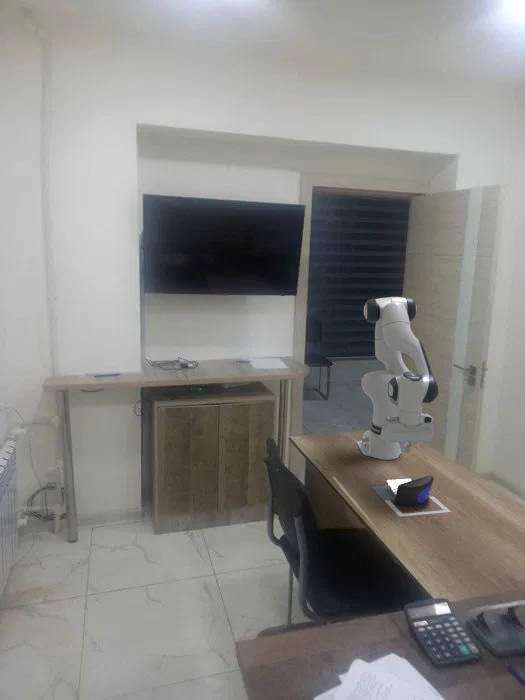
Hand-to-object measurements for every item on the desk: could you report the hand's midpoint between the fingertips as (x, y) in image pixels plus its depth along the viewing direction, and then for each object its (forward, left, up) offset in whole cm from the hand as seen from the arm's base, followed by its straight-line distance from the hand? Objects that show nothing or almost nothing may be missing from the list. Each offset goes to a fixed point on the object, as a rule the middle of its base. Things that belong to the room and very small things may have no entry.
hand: (405, 452), depth 188 cm
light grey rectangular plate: (0, 0, -15) cm, 15 cm away
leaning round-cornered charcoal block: (+7, 0, -16) cm, 18 cm away
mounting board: (+6, 0, -17) cm, 18 cm away
